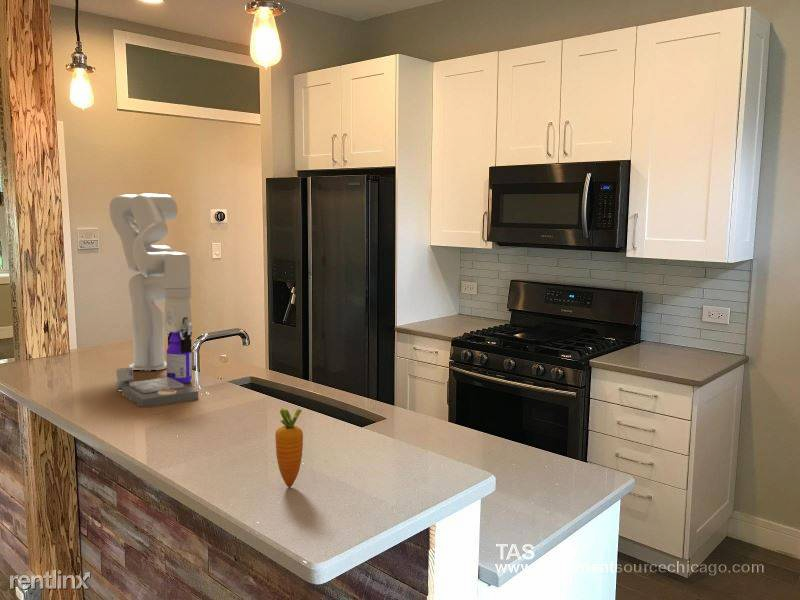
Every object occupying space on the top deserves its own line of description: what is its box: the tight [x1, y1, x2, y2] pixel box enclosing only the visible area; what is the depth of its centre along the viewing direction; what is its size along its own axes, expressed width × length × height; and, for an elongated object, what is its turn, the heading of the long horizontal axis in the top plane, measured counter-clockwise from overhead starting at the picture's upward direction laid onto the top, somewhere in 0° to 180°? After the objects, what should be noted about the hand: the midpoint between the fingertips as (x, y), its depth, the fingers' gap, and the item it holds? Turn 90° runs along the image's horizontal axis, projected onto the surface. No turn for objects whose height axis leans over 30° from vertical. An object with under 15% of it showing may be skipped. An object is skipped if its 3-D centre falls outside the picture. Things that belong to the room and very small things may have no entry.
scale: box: [121, 380, 199, 409], centre depth 186 cm, size 17×15×3 cm
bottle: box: [166, 331, 193, 385], centre depth 202 cm, size 7×6×17 cm
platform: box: [130, 376, 183, 393], centre depth 187 cm, size 11×11×1 cm
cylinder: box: [115, 367, 134, 390], centre depth 193 cm, size 4×4×6 cm
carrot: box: [275, 407, 304, 488], centre depth 122 cm, size 5×5×15 cm
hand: (179, 350), depth 201 cm, fingers open, 9 cm apart
